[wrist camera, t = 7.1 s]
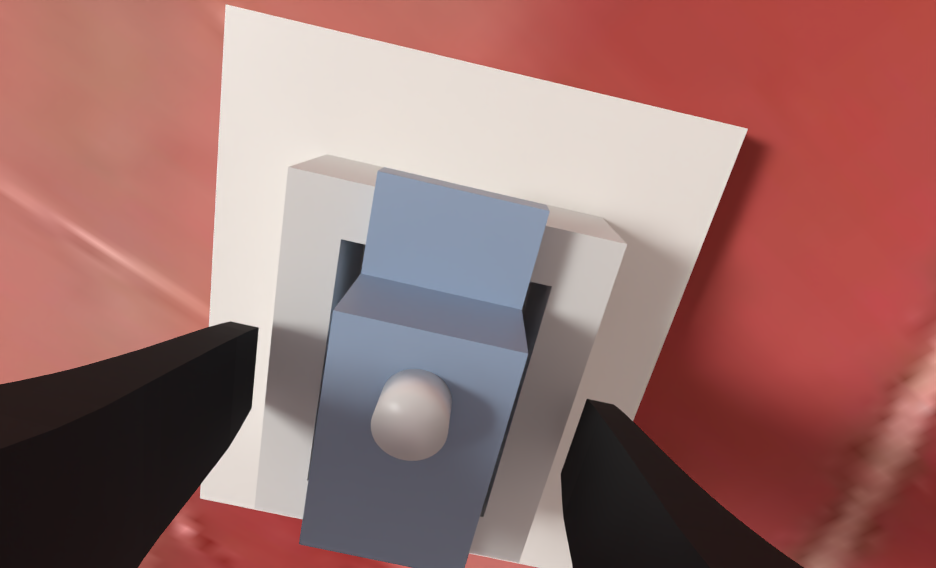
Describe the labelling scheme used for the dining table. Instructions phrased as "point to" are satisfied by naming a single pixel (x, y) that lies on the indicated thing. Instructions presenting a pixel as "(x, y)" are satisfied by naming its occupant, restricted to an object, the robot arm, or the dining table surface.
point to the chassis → (465, 163)
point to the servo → (421, 372)
